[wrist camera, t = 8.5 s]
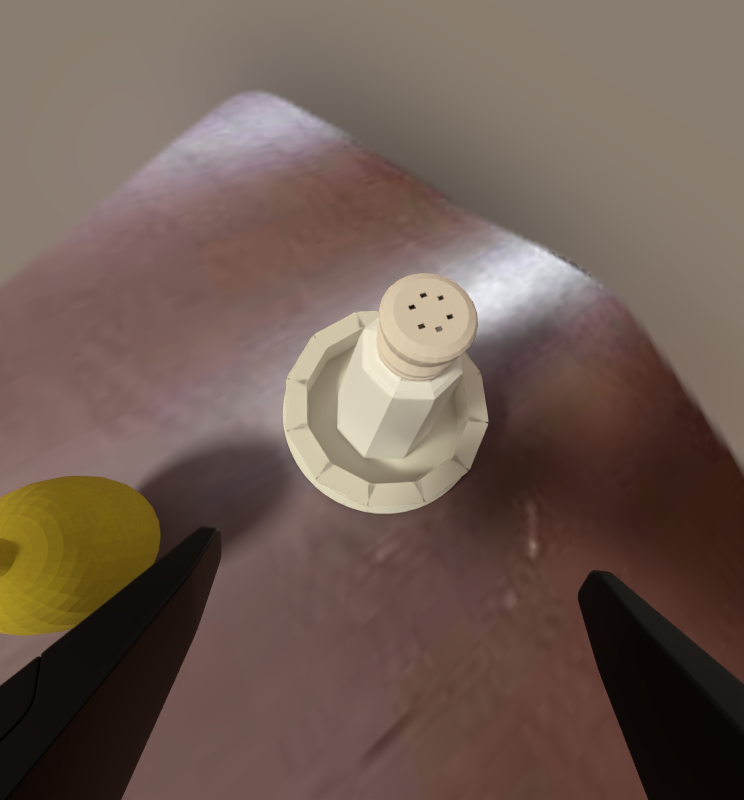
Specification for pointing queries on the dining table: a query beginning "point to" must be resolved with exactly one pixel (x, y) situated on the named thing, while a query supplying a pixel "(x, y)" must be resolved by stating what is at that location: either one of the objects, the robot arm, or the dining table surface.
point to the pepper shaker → (405, 366)
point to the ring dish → (341, 463)
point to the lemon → (70, 550)
